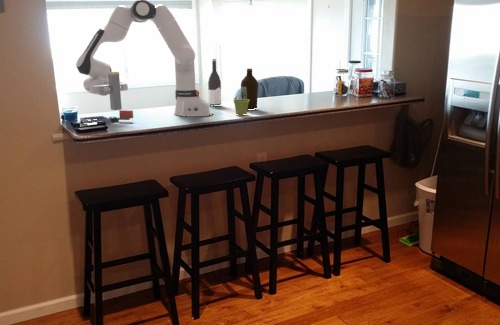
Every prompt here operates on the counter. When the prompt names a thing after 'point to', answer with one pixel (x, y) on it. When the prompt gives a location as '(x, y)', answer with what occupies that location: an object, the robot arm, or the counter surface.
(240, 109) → the plant pot
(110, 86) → the pin
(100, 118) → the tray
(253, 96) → the olive oil
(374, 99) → the counter surface
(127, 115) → the crank lever
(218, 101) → the wine bottle
